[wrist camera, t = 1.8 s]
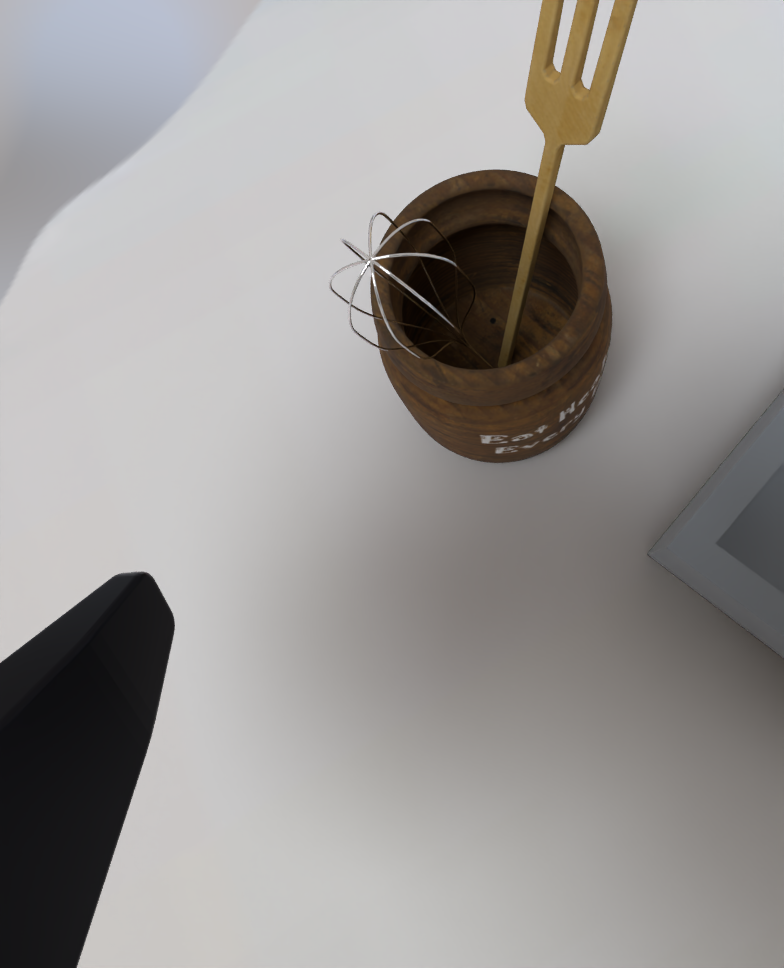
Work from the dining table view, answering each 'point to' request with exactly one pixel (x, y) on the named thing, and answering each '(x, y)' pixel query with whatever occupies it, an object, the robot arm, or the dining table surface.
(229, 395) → the dining table surface
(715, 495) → the tray
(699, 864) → the dining table surface
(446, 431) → the utensil holder
